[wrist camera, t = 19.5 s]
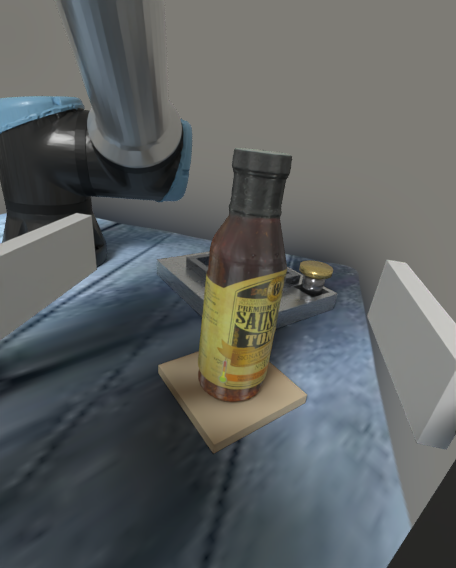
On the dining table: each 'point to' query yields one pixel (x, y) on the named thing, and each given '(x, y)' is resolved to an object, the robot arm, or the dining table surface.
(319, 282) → the plunger
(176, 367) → the cork pad
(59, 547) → the dining table surface
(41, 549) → the dining table surface
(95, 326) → the dining table surface
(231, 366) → the sauce bottle
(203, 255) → the housing
